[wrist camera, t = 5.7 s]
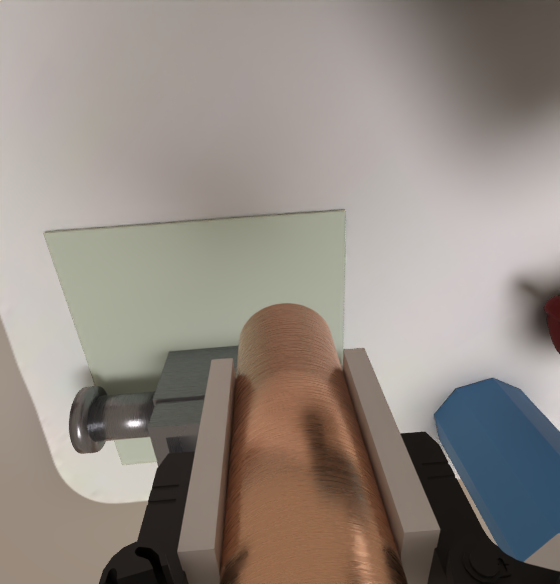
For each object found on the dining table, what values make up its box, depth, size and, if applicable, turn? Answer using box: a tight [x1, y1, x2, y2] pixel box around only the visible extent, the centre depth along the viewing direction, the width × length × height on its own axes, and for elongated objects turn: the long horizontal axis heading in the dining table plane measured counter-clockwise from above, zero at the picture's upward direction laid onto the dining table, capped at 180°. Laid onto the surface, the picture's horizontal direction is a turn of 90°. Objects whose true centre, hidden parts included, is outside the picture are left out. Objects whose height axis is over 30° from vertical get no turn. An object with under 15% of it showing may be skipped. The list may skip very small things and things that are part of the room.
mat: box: [43, 210, 346, 465], centre depth 34 cm, size 24×22×1 cm
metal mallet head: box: [69, 345, 343, 467], centre depth 32 cm, size 11×22×8 cm, turn 93°
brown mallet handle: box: [220, 303, 408, 584], centre depth 11 cm, size 4×4×13 cm
